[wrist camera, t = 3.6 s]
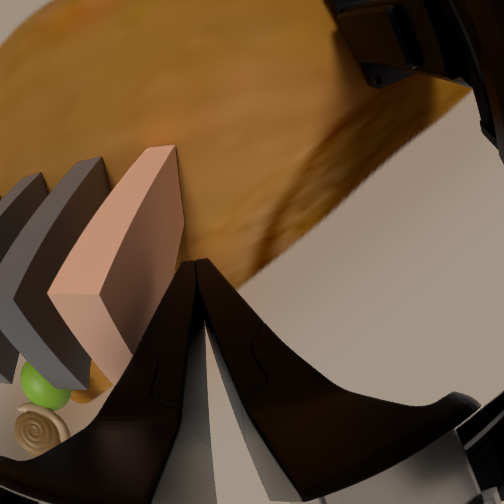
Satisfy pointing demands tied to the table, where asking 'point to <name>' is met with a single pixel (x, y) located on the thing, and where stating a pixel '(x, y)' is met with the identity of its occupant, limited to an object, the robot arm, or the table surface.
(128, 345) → the domino
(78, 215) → the domino
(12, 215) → the domino
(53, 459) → the robot arm
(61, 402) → the snail figurine
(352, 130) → the table surface
